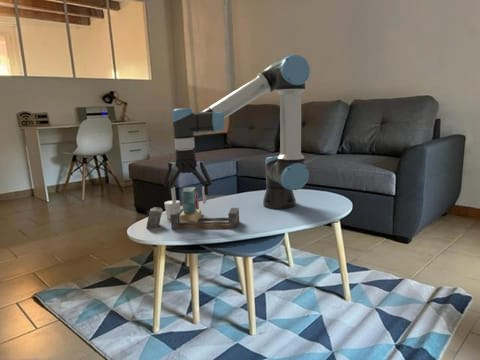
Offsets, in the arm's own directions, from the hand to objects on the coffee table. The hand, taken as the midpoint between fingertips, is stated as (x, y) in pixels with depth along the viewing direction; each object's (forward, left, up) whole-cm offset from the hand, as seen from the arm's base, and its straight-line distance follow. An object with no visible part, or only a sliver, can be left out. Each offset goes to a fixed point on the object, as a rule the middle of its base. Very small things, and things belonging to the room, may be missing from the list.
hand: (189, 203), depth 144 cm
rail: (-6, 0, -9) cm, 11 cm away
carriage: (0, 0, -7) cm, 7 cm away
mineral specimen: (+15, 0, -9) cm, 18 cm away
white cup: (+11, -12, -9) cm, 19 cm away
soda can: (+4, -16, -9) cm, 19 cm away
